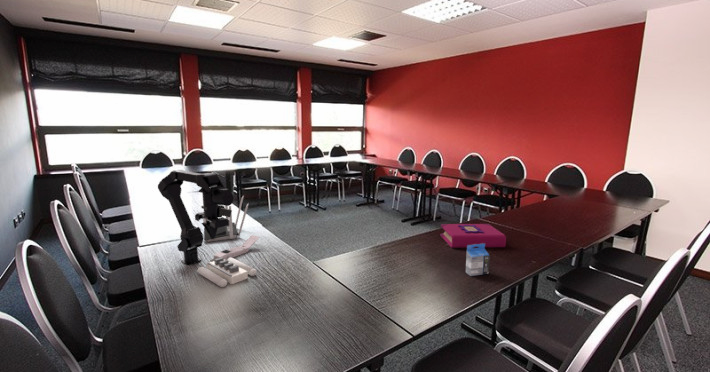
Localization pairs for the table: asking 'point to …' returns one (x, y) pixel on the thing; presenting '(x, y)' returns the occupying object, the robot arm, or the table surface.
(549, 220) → the table surface
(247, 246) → the mobile phone
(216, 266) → the breaker strip
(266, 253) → the table surface
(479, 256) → the label tape box
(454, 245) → the book
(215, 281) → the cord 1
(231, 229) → the wireless router
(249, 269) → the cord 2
